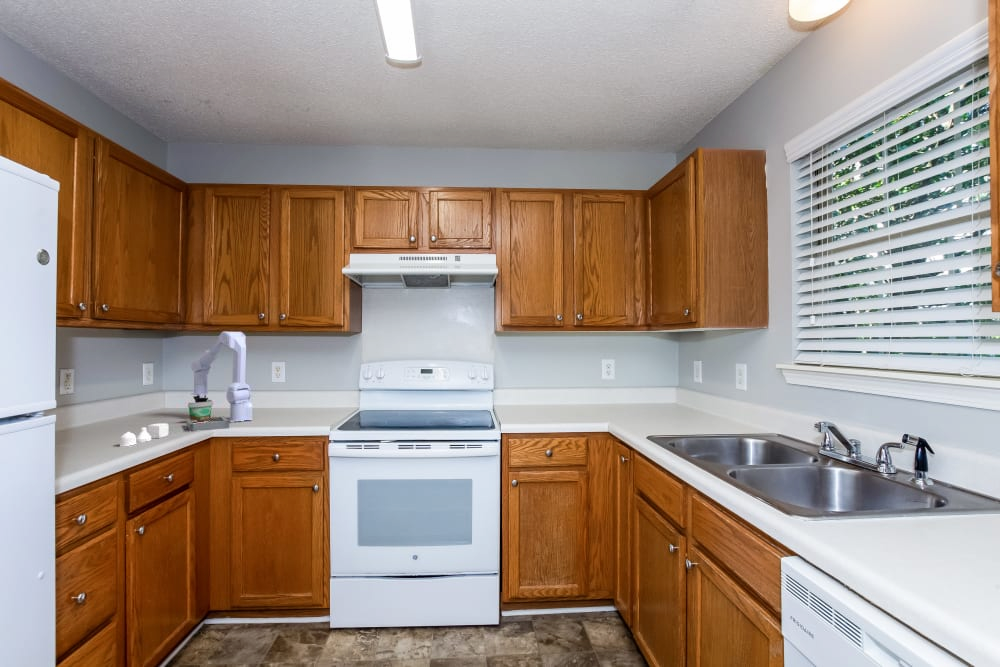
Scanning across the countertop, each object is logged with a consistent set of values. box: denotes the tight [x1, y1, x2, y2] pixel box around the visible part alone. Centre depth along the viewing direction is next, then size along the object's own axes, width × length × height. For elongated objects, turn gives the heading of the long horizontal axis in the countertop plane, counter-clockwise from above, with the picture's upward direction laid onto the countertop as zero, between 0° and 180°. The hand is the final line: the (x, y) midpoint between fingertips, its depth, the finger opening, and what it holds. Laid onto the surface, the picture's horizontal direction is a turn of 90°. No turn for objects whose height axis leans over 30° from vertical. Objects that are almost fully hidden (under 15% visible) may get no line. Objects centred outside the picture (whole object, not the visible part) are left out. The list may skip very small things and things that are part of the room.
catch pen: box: [185, 415, 230, 432], centre depth 218 cm, size 15×16×3 cm
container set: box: [119, 422, 170, 447], centre depth 188 cm, size 20×5×6 cm, turn 177°
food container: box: [187, 399, 214, 423], centre depth 230 cm, size 12×6×10 cm, turn 168°
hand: (200, 410), depth 242 cm, fingers open, 7 cm apart
